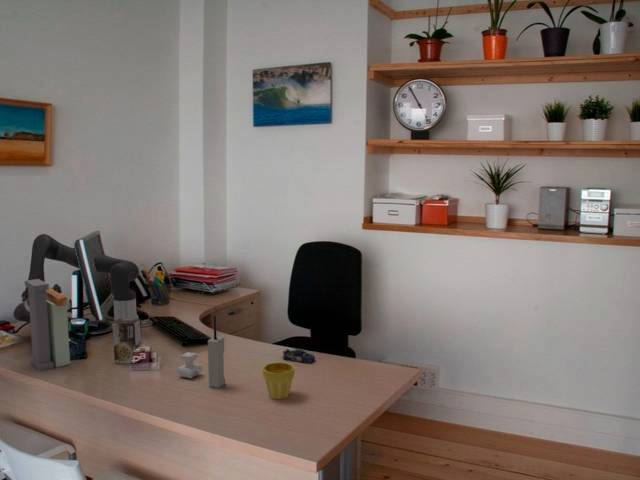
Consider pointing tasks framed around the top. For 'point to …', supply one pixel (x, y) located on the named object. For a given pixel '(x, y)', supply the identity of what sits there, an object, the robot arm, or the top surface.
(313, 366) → the top surface
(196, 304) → the top surface
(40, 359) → the tall stand
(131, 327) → the coffee box
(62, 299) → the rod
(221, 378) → the vintage mobile phone
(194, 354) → the stamp
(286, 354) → the race car
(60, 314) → the pale green tall block
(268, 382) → the plant pot
